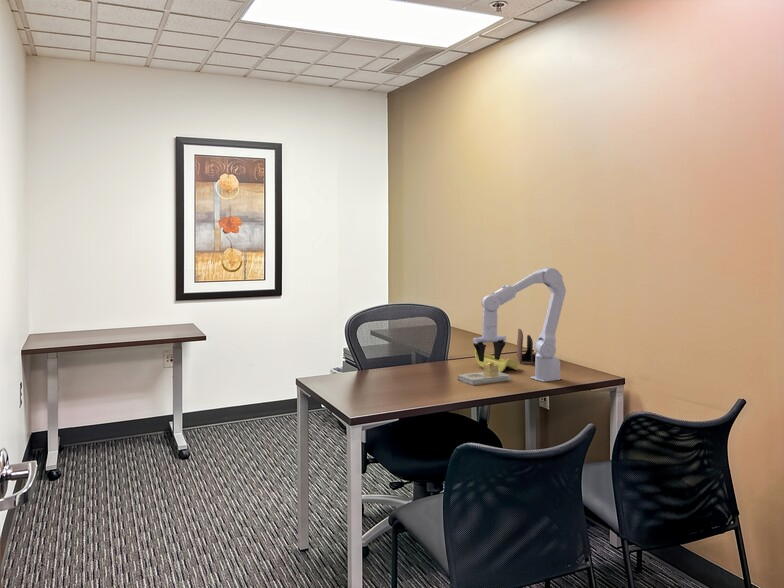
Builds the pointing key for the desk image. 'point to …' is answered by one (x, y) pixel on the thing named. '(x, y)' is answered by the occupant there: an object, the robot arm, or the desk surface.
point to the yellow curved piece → (497, 362)
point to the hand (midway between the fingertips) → (489, 360)
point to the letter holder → (528, 356)
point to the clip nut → (491, 369)
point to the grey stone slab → (483, 378)
